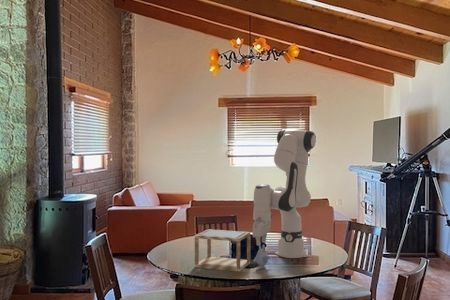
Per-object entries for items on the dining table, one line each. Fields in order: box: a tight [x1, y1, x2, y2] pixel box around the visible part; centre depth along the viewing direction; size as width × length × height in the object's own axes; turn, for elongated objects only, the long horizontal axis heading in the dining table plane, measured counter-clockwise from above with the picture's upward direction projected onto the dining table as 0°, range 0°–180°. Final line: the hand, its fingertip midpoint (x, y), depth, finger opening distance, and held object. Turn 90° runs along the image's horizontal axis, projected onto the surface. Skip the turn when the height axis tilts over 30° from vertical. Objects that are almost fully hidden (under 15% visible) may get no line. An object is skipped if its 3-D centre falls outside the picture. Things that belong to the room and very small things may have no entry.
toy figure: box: [253, 244, 271, 270], centre depth 236 cm, size 11×6×12 cm, turn 124°
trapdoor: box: [200, 229, 246, 245], centre depth 243 cm, size 20×14×3 cm
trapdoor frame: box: [194, 228, 251, 273], centre depth 243 cm, size 24×18×16 cm
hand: (261, 243), depth 236 cm, fingers open, 8 cm apart
